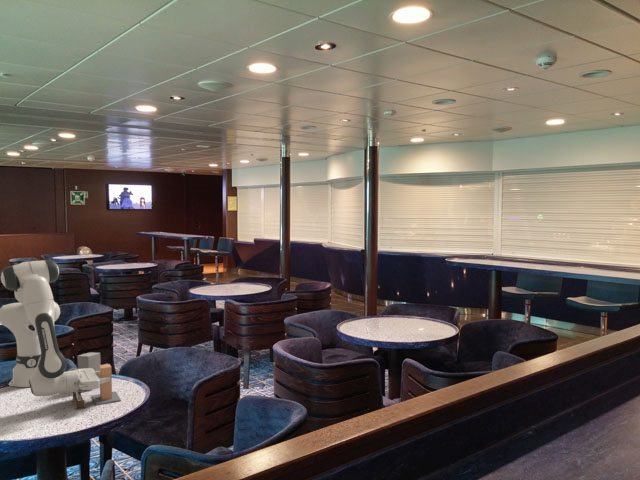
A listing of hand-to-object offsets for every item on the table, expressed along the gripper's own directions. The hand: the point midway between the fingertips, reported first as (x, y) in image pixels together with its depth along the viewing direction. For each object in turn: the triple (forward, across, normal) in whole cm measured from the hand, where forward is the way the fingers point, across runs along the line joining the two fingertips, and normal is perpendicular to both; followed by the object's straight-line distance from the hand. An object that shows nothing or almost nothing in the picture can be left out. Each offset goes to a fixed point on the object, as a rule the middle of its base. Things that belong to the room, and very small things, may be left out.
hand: (107, 375), depth 227 cm
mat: (-1, 0, +10) cm, 10 cm away
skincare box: (-5, +20, +10) cm, 23 cm away
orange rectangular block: (-1, 0, +10) cm, 10 cm away
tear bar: (-12, 0, +10) cm, 16 cm away
